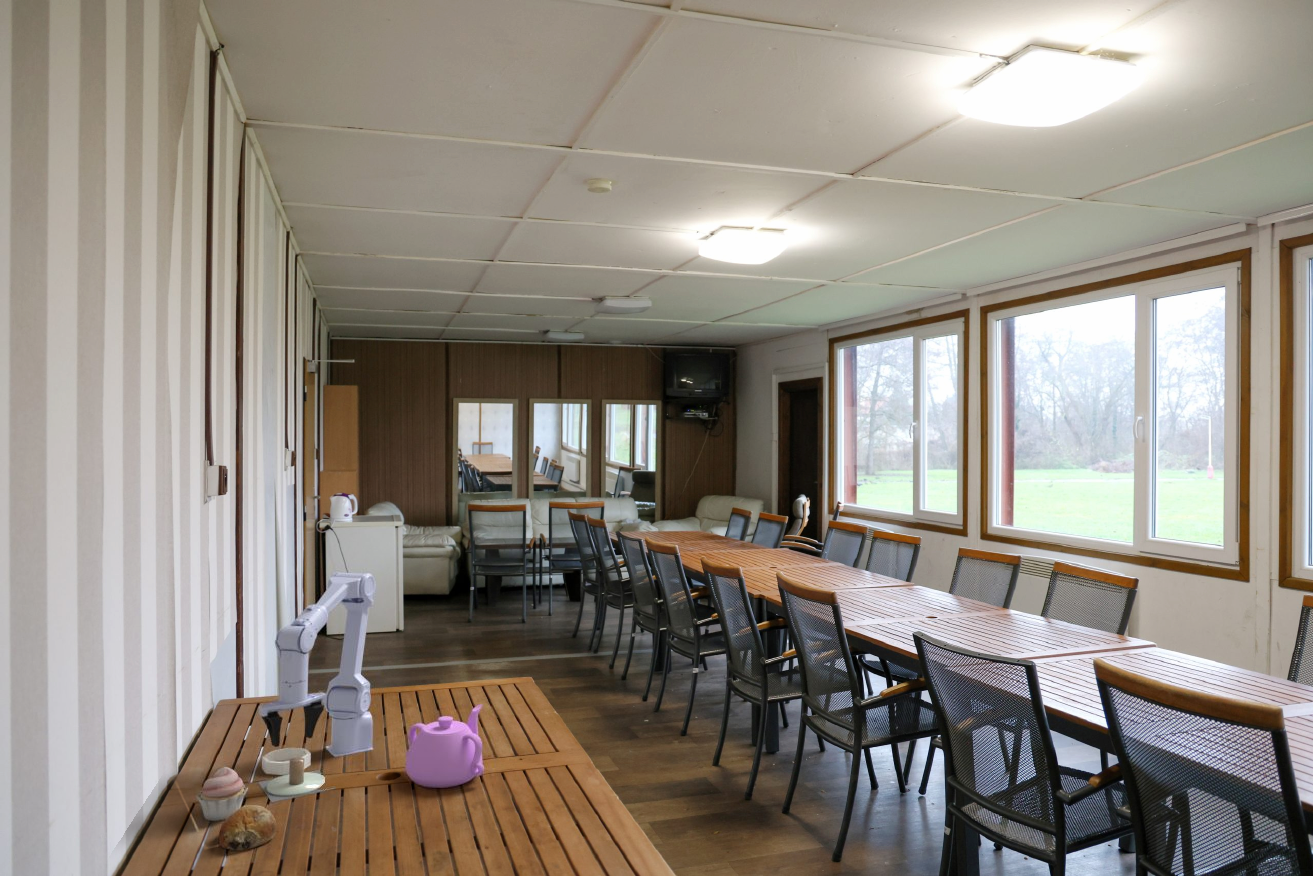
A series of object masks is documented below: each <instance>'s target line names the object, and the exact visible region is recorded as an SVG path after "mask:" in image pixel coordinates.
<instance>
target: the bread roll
mask: <svg viewBox="0 0 1313 876" xmlns="http://www.w3.org/2000/svg"><path fill="white" fill-rule="evenodd" d="M277 826H278V825H277V820H276V817H274V814H272V812H271V811H270V810H268V808H266V807H264V806H262V805H255V804H249V805H248V804H247V805H246V804H245V805H243V806H241V808H239V809H238V810H236V811H235V812H233V813H232V814H231V815H230V816H229V817H228V818H226V819H225V820H223V822H222V824H221V825H220V828H219V831H218V832H219V833H218V842H219V844H220V846H221V847H222V848H223V849H226V850H230V851H246V850H250V849H253V848H257V847H259V846H262V845H265V844H267V843H268V842H270V841H271V840H272V839H274V837H275V835H276V833H277Z"/></svg>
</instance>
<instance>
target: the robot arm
mask: <svg viewBox="0 0 1313 876" xmlns="http://www.w3.org/2000/svg"><path fill="white" fill-rule="evenodd" d="M327 581H328V582H327V589H326V590H325V592H324V593H322V595H321V597H320V598H319V600H318V601H317V602H316V603H315V604H308V605H307V606H306V607H305V609H303V611H302V612H300V614H299V615H298V616H297V617H296V618H295V619H294V620H293V622H292V623H291V624H290V625H289V624H288V625H284V626H283V627H281V628H280V629H279V630H278V632H277V634H276V638H275V640H274V644H275V649H276V650H277V658H278V660H279V661H280V663H279V664H280V666H279V667H280V669H279V670H280V672H279V673H280V674H279V699H276V700H274V701H270V702H268V703H266V704H263V705H262V704H261V705H258V715H259V716H260V717H261V719H262V720H263V722H264V725H265V726H266V729H267V731H268V733H269V738H270V743H271V746H273V747H274V748H279V746H280V744H281V727H282V722H283V719H284V717H282V716H281V715H280V713H281V712H285V711H290V710H293V709H294V710H295V709H298V708H303V714H304V737H305V738H307V739H313V737H314V732H315V730H316V726H317V723H318V721H319V718H320V716H321V715H322V713H323V711H324V709H325V710H326V712H328V716H329V717H331V734H330V735H331V736H330V737H331V739H330V742H331V743H330V745H328V746H327V745H326V746H325V749H326V750H327V751H328V752H329V753H330V754H331V755H332V756H333V758H337V757H343V756H348V755H353V754H357V753H358V754H359V753H362V752H363V753H364V752H368V751H373V750H374V748H373V737H374V735H373V734H374V733H373V732H374V730H373V729H374V721H373V716H372V714H371V712H370V711H368V709H369V708H370V705H371V697H372V696H371V683H370V682H369V680H368V679H366V678H365V677H364V676H363V675H362V674H361V673H362V667H363V657H364V650H365V643H366V635H367V628H368V619H369V611H370V608H371V607H372V606H373V605H374V603H375V601H374V600H375V595H376V586H377V582H376V580H375V578H374V576H373V574H372V573H369V572H368V573H361V572H359V573H357V572H341V571H336V572H334V573H333V574H332V575H331V576H330V578H329V579H328V580H327ZM339 604H340V605H341V606H344V608H345V609H346V611H347V613H346V620H345V628H344V633H343V634H344V636H343V644H342V650H341V651H342V652H341V658H340V665H339V673H338V675H336V676H334V678H332V679H331V680H330V681H329V682H328V686H327V689H326V693H324V692H322V691H321V692H317V693H316V692H315V693H310V694H308V692H309V691H308V688H309V687H308V686H309V684H308V683H309V681H308V680H309V652H310V651H311V650H312V649H313V647H314V644H315V641H316V639H317V637H318V633H319V632H320V631H321V630H322V628H324V626H325V625H326V624H327V622H328V621H329V613H330V612H331V611H333V610H334V609H335V607H336V606H338V605H339Z"/></svg>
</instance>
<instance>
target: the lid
mask: <svg viewBox="0 0 1313 876" xmlns="http://www.w3.org/2000/svg"><path fill="white" fill-rule="evenodd" d="M310 772H311V771H306V772H305V769H304V758H293V759H291V760H290V766H289V774H285V775H279V776H278V777H275V778H272V779H273V780H272V779H270V780H271V781H270V782H269V783H268V784H267V792H268V793H270V794H272V795H276V796H297V795H303V794H307V793H311V792H313V791H316V790H317V789H318V788H320V787H321V786H322V785H323V784H324V783H325V778H326V777H325V776H324V775H321V774H317V773H310Z"/></svg>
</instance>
